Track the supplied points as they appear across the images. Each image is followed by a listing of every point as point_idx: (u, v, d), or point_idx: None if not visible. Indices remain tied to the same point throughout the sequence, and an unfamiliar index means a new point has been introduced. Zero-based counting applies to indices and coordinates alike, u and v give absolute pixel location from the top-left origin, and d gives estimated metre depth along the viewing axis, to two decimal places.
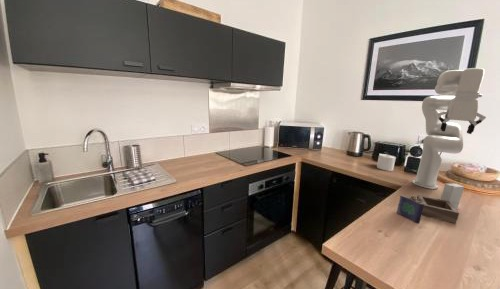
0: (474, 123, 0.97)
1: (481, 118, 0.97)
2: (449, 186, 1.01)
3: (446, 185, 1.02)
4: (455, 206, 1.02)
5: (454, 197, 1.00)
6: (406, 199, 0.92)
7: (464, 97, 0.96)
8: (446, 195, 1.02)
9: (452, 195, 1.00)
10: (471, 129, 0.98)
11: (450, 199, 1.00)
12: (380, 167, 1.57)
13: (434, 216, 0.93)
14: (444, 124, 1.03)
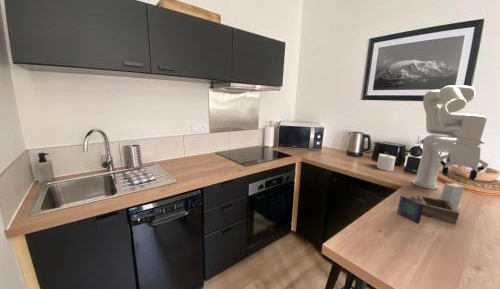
0: (476, 170, 0.95)
1: (483, 165, 0.94)
2: (449, 186, 1.01)
3: (446, 185, 1.02)
4: (455, 206, 1.02)
5: (454, 197, 1.00)
6: (406, 199, 0.92)
7: (466, 144, 0.94)
8: (446, 195, 1.02)
9: (452, 195, 1.00)
10: (473, 175, 0.96)
11: (450, 199, 1.00)
12: (380, 167, 1.57)
13: (434, 216, 0.93)
14: (446, 168, 1.00)
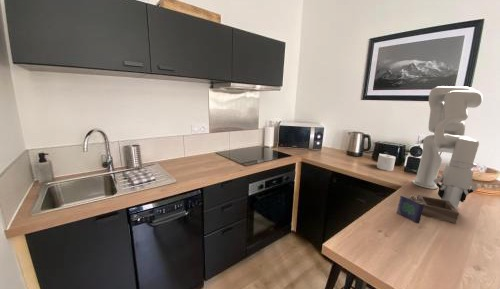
0: (466, 192, 0.99)
1: (473, 188, 0.98)
2: (449, 186, 1.01)
3: None
4: (455, 206, 1.02)
5: (454, 197, 1.00)
6: (406, 199, 0.92)
7: (459, 167, 0.96)
8: (446, 195, 1.02)
9: (452, 195, 1.00)
10: (463, 198, 0.99)
11: (450, 199, 1.00)
12: (380, 167, 1.57)
13: (434, 216, 0.93)
14: (441, 191, 1.03)
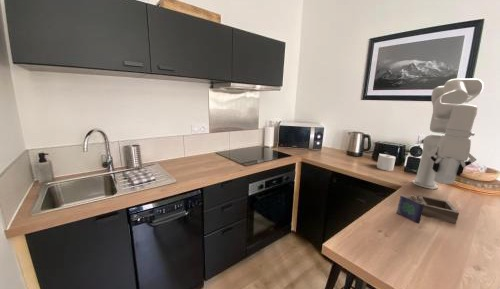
0: (463, 164, 0.89)
1: (471, 160, 0.88)
2: (445, 158, 0.91)
3: None
4: (451, 181, 0.92)
5: (450, 171, 0.91)
6: (406, 199, 0.92)
7: (455, 136, 0.87)
8: (441, 169, 0.93)
9: (448, 168, 0.91)
10: (460, 171, 0.90)
11: (446, 173, 0.91)
12: (380, 167, 1.57)
13: (434, 216, 0.93)
14: (436, 164, 0.94)
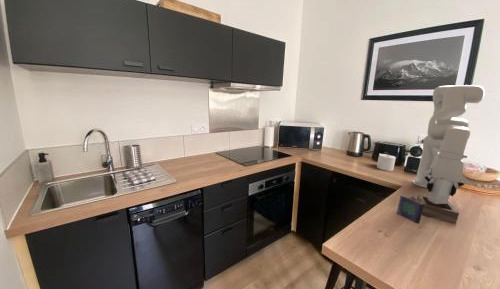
0: (456, 186, 0.91)
1: (464, 181, 0.90)
2: (438, 179, 0.93)
3: None
4: (445, 201, 0.94)
5: (443, 191, 0.93)
6: (406, 199, 0.92)
7: (448, 158, 0.89)
8: (435, 189, 0.95)
9: (442, 188, 0.93)
10: (453, 191, 0.92)
11: (439, 193, 0.93)
12: (380, 167, 1.57)
13: (434, 216, 0.93)
14: (430, 184, 0.96)
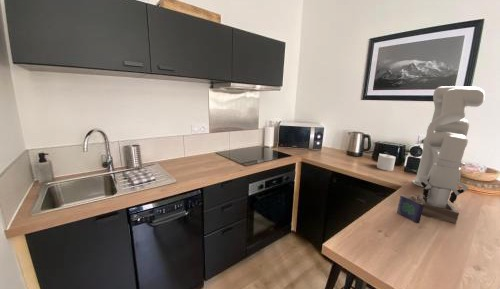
0: (456, 192, 0.92)
1: (464, 188, 0.91)
2: (435, 188, 0.94)
3: (432, 187, 0.96)
4: None
5: (440, 200, 0.94)
6: (406, 199, 0.92)
7: (446, 166, 0.90)
8: (432, 198, 0.96)
9: (439, 197, 0.94)
10: (453, 198, 0.92)
11: (437, 202, 0.94)
12: (380, 167, 1.57)
13: (434, 216, 0.93)
14: (426, 190, 0.97)
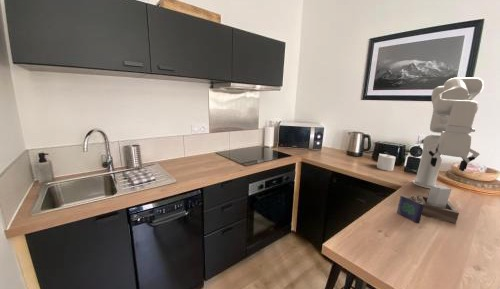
0: (467, 160, 0.88)
1: (474, 155, 0.87)
2: (435, 188, 0.94)
3: (432, 187, 0.96)
4: None
5: (440, 200, 0.94)
6: (406, 199, 0.92)
7: (455, 132, 0.87)
8: (432, 198, 0.96)
9: (439, 197, 0.94)
10: (463, 166, 0.89)
11: (436, 202, 0.94)
12: (380, 167, 1.57)
13: (434, 216, 0.93)
14: (434, 159, 0.93)
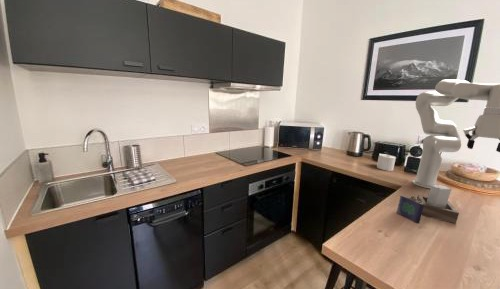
0: None
1: None
2: (435, 188, 0.94)
3: (432, 187, 0.96)
4: None
5: (440, 200, 0.94)
6: (406, 199, 0.92)
7: (495, 113, 0.89)
8: (432, 198, 0.96)
9: (439, 197, 0.94)
10: None
11: (436, 202, 0.94)
12: (380, 167, 1.57)
13: (434, 216, 0.93)
14: (471, 141, 0.96)
